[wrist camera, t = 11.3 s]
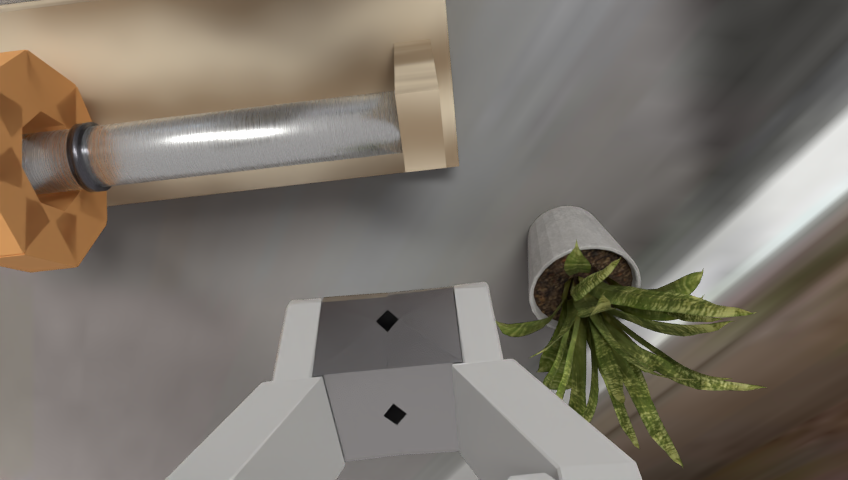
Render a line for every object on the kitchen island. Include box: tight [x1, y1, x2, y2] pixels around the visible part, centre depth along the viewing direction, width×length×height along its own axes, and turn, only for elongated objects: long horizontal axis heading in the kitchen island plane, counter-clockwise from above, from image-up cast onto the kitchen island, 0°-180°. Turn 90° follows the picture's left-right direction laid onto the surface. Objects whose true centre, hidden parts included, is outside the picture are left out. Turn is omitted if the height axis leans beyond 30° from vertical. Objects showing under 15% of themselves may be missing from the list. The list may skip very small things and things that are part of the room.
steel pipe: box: [22, 91, 403, 195], centre depth 31 cm, size 3×26×3 cm, turn 96°
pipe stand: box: [0, 0, 459, 206], centre depth 34 cm, size 12×28×10 cm, turn 96°
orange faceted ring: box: [0, 50, 107, 272], centre depth 32 cm, size 10×2×10 cm, turn 6°
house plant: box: [495, 206, 766, 467], centre depth 39 cm, size 14×14×16 cm
